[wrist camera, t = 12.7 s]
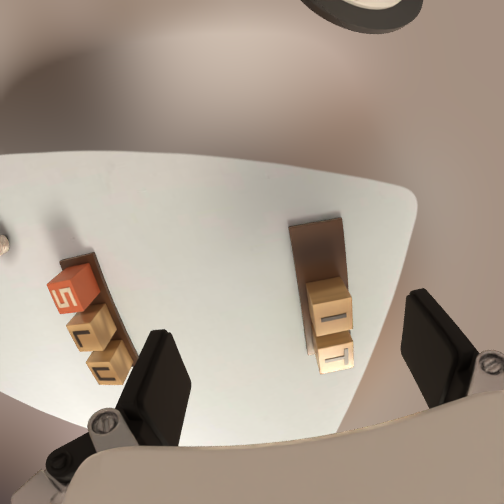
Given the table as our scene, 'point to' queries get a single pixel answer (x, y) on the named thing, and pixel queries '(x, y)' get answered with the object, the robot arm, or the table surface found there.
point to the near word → (324, 292)
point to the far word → (101, 331)
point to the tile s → (74, 288)
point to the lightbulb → (3, 245)
